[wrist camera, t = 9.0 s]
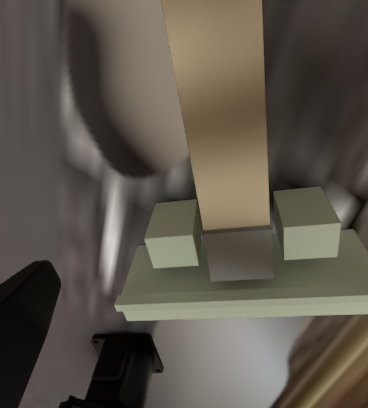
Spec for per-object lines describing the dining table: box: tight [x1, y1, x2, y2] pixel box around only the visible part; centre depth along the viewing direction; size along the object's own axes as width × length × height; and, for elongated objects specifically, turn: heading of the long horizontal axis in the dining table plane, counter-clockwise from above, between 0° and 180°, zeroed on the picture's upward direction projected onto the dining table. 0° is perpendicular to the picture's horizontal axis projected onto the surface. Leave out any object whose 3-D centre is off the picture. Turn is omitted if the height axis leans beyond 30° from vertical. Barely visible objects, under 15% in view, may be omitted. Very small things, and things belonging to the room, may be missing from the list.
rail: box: [161, 0, 274, 282], centre depth 15 cm, size 18×4×5 cm, turn 10°
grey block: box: [114, 186, 368, 321], centre depth 20 cm, size 6×16×6 cm, turn 100°
